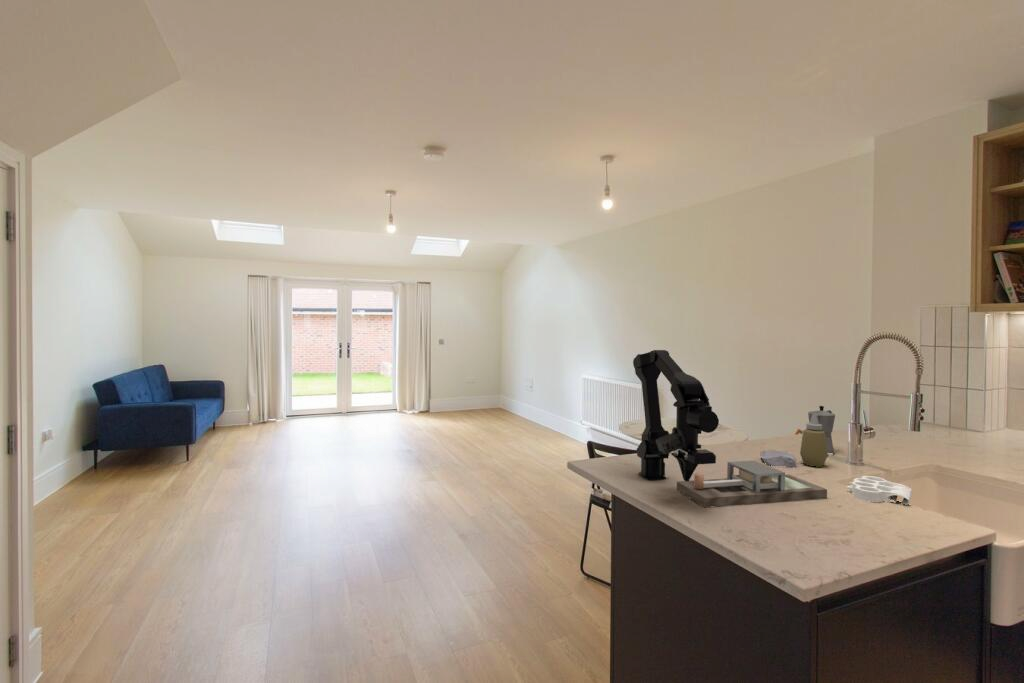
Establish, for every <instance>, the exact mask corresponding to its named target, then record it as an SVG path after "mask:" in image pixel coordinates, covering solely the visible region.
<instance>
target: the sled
mask: <svg viewBox="0 0 1024 683" xmlns="http://www.w3.org/2000/svg"><path fill="white" fill-rule="evenodd" d="M704 476H705V474H703V473H699V472H697V473H694V480H695V482H694V487H695V488H696V489H704V488H708V487H723V486H738V485H743V486H745V487H747V488H749V489H752V490H753V484H752V483H750V482H748V481H746V480H744V479H742V478H739V474H734V475H733V480H719V481H704V480H705V477H704ZM770 488H778V482H776V481H774V480H772V482H769V483H760V489H770Z"/></svg>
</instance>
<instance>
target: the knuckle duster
mask: <svg viewBox="0 0 1024 683" xmlns="http://www.w3.org/2000/svg"><path fill="white" fill-rule="evenodd" d="M848 484H850V485H848V486H845V488H846V489H848V490H849V491H850V492H851V491H852V492H851V493H852V494H853V493H854V494H853V495H854V496H855V497H856V498H855V497H854V498H855V499H857V498H858V499H857V500H859V499H861V500H860V501H862V500H865V501H864V502H867V501H870V502H869V503H874V502H879V503H884V502H883V501H884V500H885V501H886V500H887V501H890V500H894V501H896V502H897V499H898V497H901V498H903V499H902V501H901V502H900V503H902V504H905V505H904V506H906V505H909V504H910V500H911V499H912V498H911V496H912V495H913V489H912V488H910V487H909V486H907V485H904V484H901V483H899V482H898V483H897V482H893V481H889V480H886V479H884V478H882V477H879V476H872V475H862V476H861V477H856V478H853V479H852V481H849V482H848ZM889 499H890V500H889ZM890 502H891V501H890Z"/></svg>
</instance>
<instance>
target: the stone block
mask: <svg viewBox="0 0 1024 683" xmlns="http://www.w3.org/2000/svg"><path fill="white" fill-rule="evenodd" d="M760 456H761V459H762V460H763V463H764V464H765V463H766V464H765V465H767V464H768V465H767V466H769V465H772V466H771V467H773V466H786V467H785V468H793V467H795V468H796V467H797V458H796V456H795V455H794V454H790V453H789V452H788V451H787V450H784V451H783V450H776V449H766V450H763V451H760Z"/></svg>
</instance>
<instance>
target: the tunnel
mask: <svg viewBox="0 0 1024 683" xmlns="http://www.w3.org/2000/svg"><path fill="white" fill-rule="evenodd" d="M726 468H727V470H726V472H727V473H726V477H727V479H728V480H733V475H735V474H734V471H735V470H734V468H736V469H738V470H739V469H740V470H742V471H745V472H747V473H749V474H752V475H753V492H754V493H760V476H775V475H778V490H779V491H781V492H782V491H785V475H786V472H784V471H782V470H779V469H777V468H775V467H773V466H769V465H767V464H765V463H764V464H763V463H762V462H758V461H756V460H741V461H740V460H738V461H727V466H726Z"/></svg>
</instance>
